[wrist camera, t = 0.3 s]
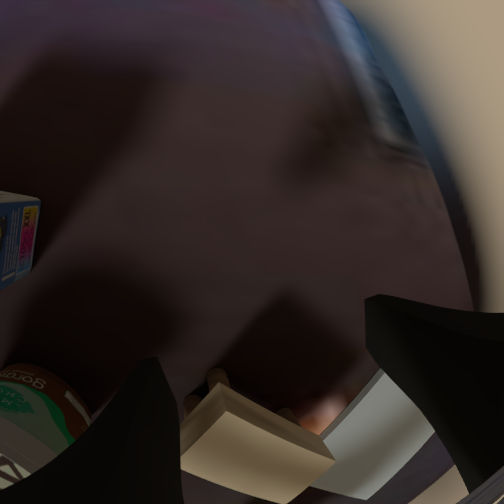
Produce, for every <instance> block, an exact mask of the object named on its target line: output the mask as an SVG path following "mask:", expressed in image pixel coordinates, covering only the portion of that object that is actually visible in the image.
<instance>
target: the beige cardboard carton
mask: <svg viewBox="0 0 504 504" xmlns="http://www.w3.org/2000/svg"><path fill="white" fill-rule="evenodd" d="M207 381H208V387H209V394H208V395H207V396H206V397H205V398H204V399H203V400H202V398H201V397H200V396H198V395H189V396H187V397H186V398H185V399H184V416H185V420H184V421H183V422H182V423H181V424H180V454H181V469H182V470H184V471H187V472H189V473H192V474H194V475H196V476H199V477H201V478H204V479H206V480H209V481H211V482H214V483H217V484H219V485H222V486H225V487H228V488H230V489H233V490H236V491H239V492H242V493H245V494H249V495H252V496H255V497H258V498H262V499H265V500H269V501H272V502H276V503H280V504H287V503H289V502H290V501H291V500H292V499H294V498H295V497H296V496H297V495H299V494H300V493H301V492H302V491H304V490H305V489H306V488H307V487H308V486H310V485H311V484H312V483H313V482H314V481H315V480H317V479H318V478H319V477H320V476H321V475H322V474H323V473H325V472H326V471H327V470H328V469H329V468H330V467H331V466H332V465H333V464H334V463H335V462H337V461H336V460H335V458H334V457H333V455H332V454H331V452H330V451H329V449H328V448H327V446H326V445H325V443H324V442H323V440H322V439H321V437H320V436H319V435H317V434H315V433H312V432H310V431H308V430H306V429H304V428H302V427H301V426H300V424H299V422H298V421H297V419H296V417H295V416H294V414H293V412H292V410H291V409H290V408H281V409H279V410H278V411H277V412H276V414H275V413H273V412H271V411H269V410H267V409H265V408H263V407H262V406H260V405H258V404H256V403H254V402H253V401H251V400H249V399H247V398H245V397H244V396H242V395H240V394H238V393H237V392H235V391H233V390H232V389H231V387H230V384H229V381H228V377H227V374H226V372H225V371H224V370H223V369H221V368H213V369H211V370H210V371H209V372H208V373H207Z"/></svg>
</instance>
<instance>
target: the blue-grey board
mask: <svg viewBox="0 0 504 504" xmlns="http://www.w3.org/2000/svg"><path fill="white" fill-rule="evenodd" d="M434 432H435V430H434V429H433V427H432V426H431V424H430V423H429V422H428V420H427V419H426V417H425V416H424V415H423V413H422V412H421V411H420V410H419V408H418V407H417V406H416V405H415V404H414V403H413V402H412V401H411V400H410V398H409V397H408V396H407V395H406V394H405V393H404V392H403V391H402V390H401V389H400V388H399V387H398V386H397V385H396V384H395V383H394V382H393V381H392V380H391V379H390V378H389V376H388V375H387V374H386V373H385V372H384V371H383V370H382V369H381V368H380V369H379V370H378V371H377V373H376V374H375V375H374V376H373V378H372V379H371V380H370V381H369V382H368V383H367V385H366V386H365V387H364V388H363V389H362V390H361V392H360V393H359V394H358V395H357V396H356V397H355V398H354V400H353V401H352V402H351V403H350V404H349V405H348V406H347V407H346V408H345V410H344V411H343V412H342V413H341V414H340V415H339V416H338V417H337V418H336V419H335V420H334V421H333V422H332V423H331V424H330V425H329V426H328V427H327V429H326V430H325V431H324V432H323V433H322V434H321V435H320V437H321V439H322V440H323V442H324V443H325V445H326V446H327V448H328V449H329V451H330V452H331V454H332V455H333V457H334V458H335V460H336V461H337V462H335V463H334V464H333V465H332V466H331V467H330V468H329V469H328V470H327V471H326V472H325V473H323V474H322V475H321V476H320V477H319V478H318V479H317V480H315V481H314V482H313V483H312V484H311V485H310V486H312V487H315V488H319V489H322V490H326V491H330V492H334V493H337V494H342V495H346V496H350V497H354V498H359V499H364V500H367V499H368V498H369V497H371V496H372V495H373V494H374V493H375V492H376V491H377V490H379V489H380V488H381V487H382V486H383V485H384V484H385V483H386V482H387V481H388V480H389V479H390V478H391V477H392V476H394V475H395V474H396V473H397V472H398V471H399V470H400V469H401V468H402V467H403V466H404V465H405V464H406V463H407V462H408V461H409V459H410V458H411V457H412V456H413V455H414V454H415V453H416V452H417V451H418V450H419V449H420V448H421V447H422V446H423V444H424V443H425V442H426V441H427V440H428V439H429V438H430V436H431V435H432V434H433V433H434Z"/></svg>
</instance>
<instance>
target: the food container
mask: <svg viewBox="0 0 504 504" xmlns="http://www.w3.org/2000/svg"><path fill="white" fill-rule="evenodd" d="M91 417H92V414H91V413H90V411H89V409H88V407H87V405H86V404H85V402H84V401H83V400H82V399H81V398H80V396H79V395H78V394H77V393H76V392H75V390H74V389H73V388H72V387H71V386H69V385H68V384H67V383H66V382H64V381H63V380H62V379H61V378H59V377H58V376H57V375H55V374H53V373H51V372H49V371H47V370H45V369H43V368H42V367H40V366H36V365H32V364H28V363H16V364H12V365H9V366H7V367H6V368H5V369H3V370H2V371H1V372H0V490H2V489H4V488H6V487H8V486H10V485H12V484H14V483H16V482H18V481H20V480H22V479H24V478H26V477H27V476H29V475H31V474H32V473H34V472H35V471H37V470H39V469H40V468H42V467H43V466H45V465H46V464H47V463H49V462H50V461H52V460H53V459H54V458H55V457H57V456H58V455H59V454H60V453H61V452H63V451H64V450H65V449H66V448H67V447H69V446H70V445H71V444H72V443H73V442H74V441H75V440H77V439H78V438H79V437H80V436H81V435H82V434H83V433H84V432H85V431H86V430H87V429H88V427H89V426H90V422H91Z"/></svg>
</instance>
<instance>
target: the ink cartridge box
mask: <svg viewBox="0 0 504 504" xmlns="http://www.w3.org/2000/svg"><path fill="white" fill-rule="evenodd" d="M40 207H41V201H40V200H39V199H38V198H35V197H31V196H25V195H20V194H14V193H9V192H4V191H0V290H2V289H4V288H5V287H7V286H9V285H10V284H12V283H14V282H15V281H17V280H19V279H20V278H22V277H24V276H26V275H27V274H29V273H30V271H31V268H32V260H33V253H34V244H35V238H36V231H37V224H38V218H39V213H40Z"/></svg>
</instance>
